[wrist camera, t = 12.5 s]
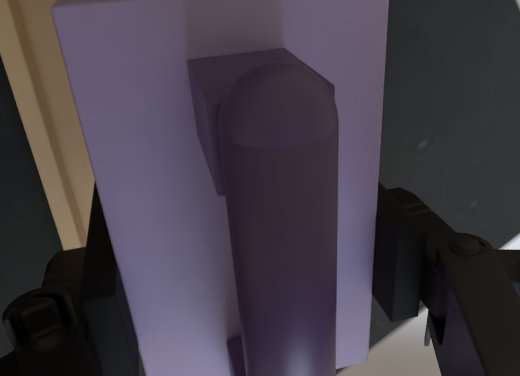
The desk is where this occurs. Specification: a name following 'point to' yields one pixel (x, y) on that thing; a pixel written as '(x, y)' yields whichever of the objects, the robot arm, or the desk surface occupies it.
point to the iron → (235, 174)
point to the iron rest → (48, 114)
